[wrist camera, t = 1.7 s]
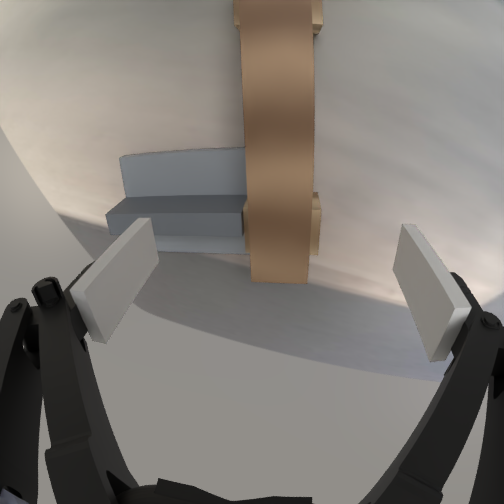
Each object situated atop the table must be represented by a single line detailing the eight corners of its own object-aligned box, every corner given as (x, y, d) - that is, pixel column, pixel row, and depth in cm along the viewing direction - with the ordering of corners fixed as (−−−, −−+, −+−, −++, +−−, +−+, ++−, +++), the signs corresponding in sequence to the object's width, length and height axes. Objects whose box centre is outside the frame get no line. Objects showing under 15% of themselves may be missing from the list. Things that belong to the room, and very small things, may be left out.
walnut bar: (246, -23, 14) (236, -43, 11) (305, -24, 14) (307, -45, 10) (257, 253, 25) (251, 281, 22) (305, 254, 25) (307, 283, 22)
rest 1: (241, -7, 18) (232, -22, 14) (315, -8, 17) (319, -23, 14) (243, 34, 20) (234, 25, 16) (318, 33, 19) (322, 24, 16)
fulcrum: (124, 155, 26) (95, 170, 22) (248, 147, 25) (238, 161, 21) (141, 245, 31) (121, 271, 27) (252, 249, 30) (244, 279, 26)
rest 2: (249, 190, 27) (243, 208, 23) (317, 192, 26) (321, 210, 23) (251, 231, 29) (245, 252, 26) (315, 232, 28) (317, 255, 25)
